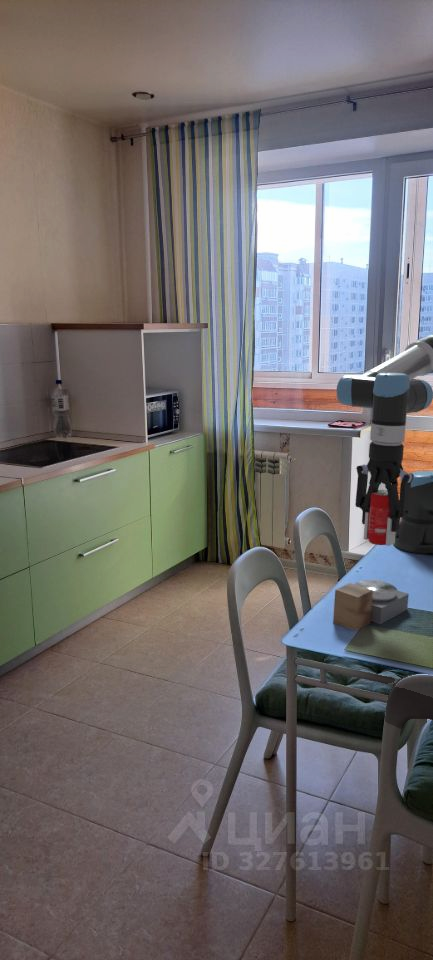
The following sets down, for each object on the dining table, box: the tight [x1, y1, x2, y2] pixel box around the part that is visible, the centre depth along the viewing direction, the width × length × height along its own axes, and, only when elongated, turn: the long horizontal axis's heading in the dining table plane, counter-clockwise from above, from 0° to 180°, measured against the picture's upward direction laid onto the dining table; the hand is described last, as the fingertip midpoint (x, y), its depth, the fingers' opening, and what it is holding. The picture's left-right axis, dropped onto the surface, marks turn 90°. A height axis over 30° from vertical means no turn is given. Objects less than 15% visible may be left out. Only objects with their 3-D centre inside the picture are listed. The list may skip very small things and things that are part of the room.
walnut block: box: [332, 582, 373, 632], centre depth 158 cm, size 6×6×8 cm
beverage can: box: [367, 489, 391, 546], centre depth 161 cm, size 5×5×12 cm
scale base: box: [370, 589, 409, 625], centre depth 166 cm, size 12×11×4 cm
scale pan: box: [354, 579, 398, 602], centre depth 165 cm, size 10×10×2 cm
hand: (378, 541), depth 163 cm, fingers closed on beverage can, 5 cm apart
